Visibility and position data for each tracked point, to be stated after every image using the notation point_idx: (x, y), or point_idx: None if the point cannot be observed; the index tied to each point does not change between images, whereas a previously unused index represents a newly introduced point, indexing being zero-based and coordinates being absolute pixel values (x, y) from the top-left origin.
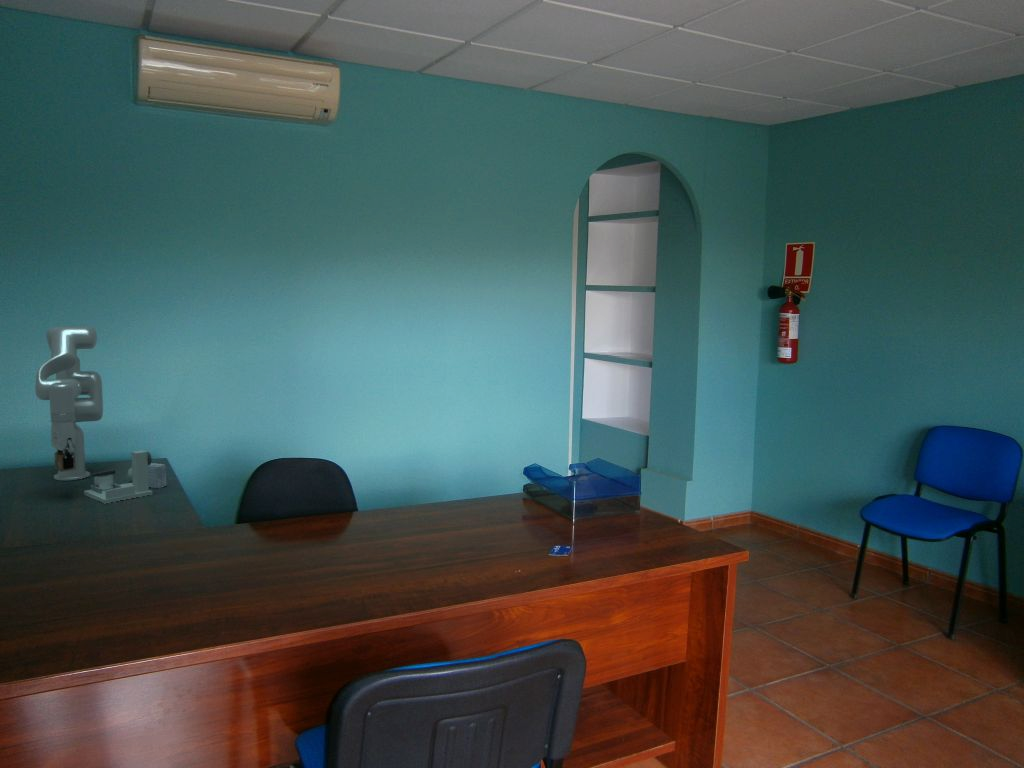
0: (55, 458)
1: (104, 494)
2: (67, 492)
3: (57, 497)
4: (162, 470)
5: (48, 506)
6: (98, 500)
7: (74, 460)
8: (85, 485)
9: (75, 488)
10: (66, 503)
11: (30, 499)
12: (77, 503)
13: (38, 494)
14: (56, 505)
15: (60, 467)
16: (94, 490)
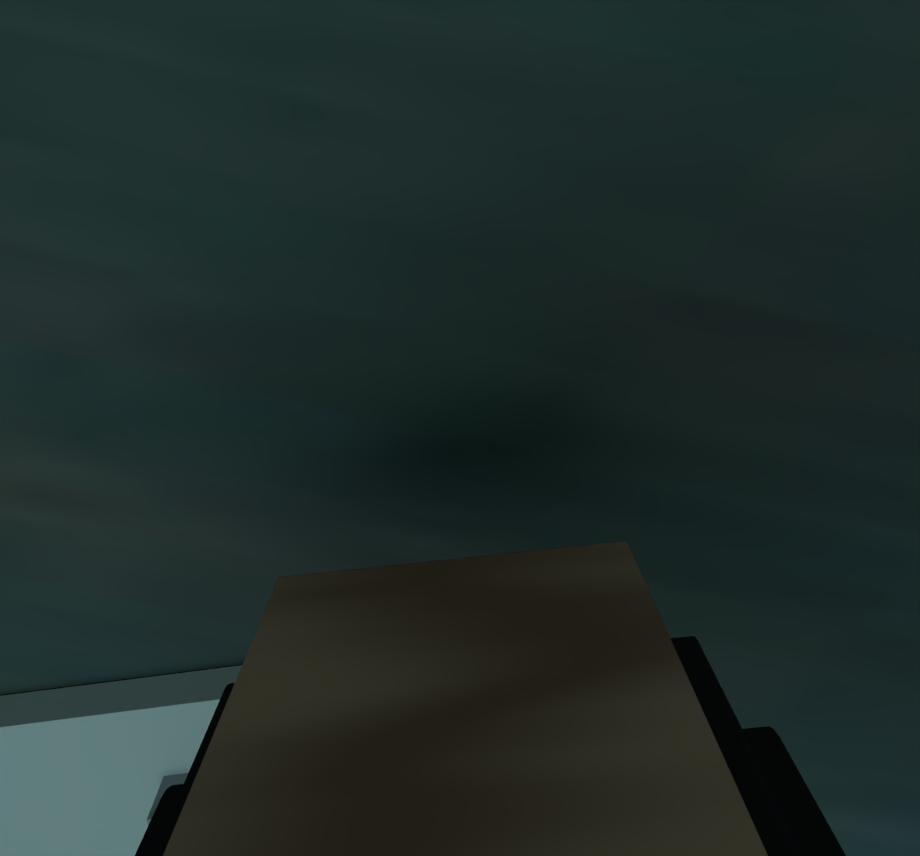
0: (622, 735)
1: (92, 805)
2: (687, 517)
3: (505, 364)
4: None
5: (55, 150)
6: (5, 701)
7: None
8: (878, 738)
9: (820, 628)
10: (103, 384)
11: (633, 30)
12: (30, 490)
13: (847, 196)
14: (57, 254)
15: (255, 640)
16: None
